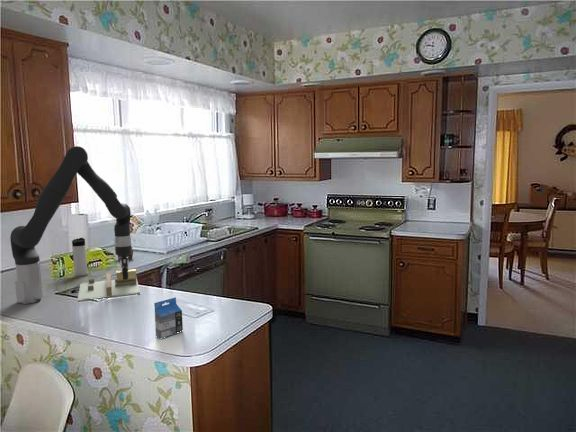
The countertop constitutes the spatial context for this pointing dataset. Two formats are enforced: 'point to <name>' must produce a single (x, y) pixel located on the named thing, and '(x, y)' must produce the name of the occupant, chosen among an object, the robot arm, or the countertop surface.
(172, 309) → the label tape cartridge
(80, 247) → the travel mug
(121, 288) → the door board
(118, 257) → the cupcake
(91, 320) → the countertop surface
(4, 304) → the countertop surface
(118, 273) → the bar
